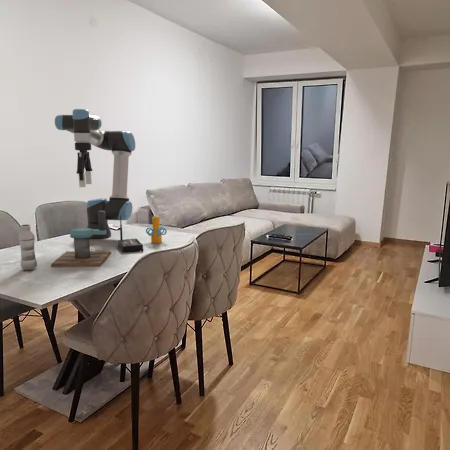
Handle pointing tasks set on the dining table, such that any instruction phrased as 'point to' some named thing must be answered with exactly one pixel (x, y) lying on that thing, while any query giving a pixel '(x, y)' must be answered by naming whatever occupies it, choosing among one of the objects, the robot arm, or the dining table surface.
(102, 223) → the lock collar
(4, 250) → the dining table surface
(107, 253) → the base
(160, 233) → the cylinder
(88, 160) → the robot arm
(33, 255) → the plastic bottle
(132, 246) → the wireless controller
